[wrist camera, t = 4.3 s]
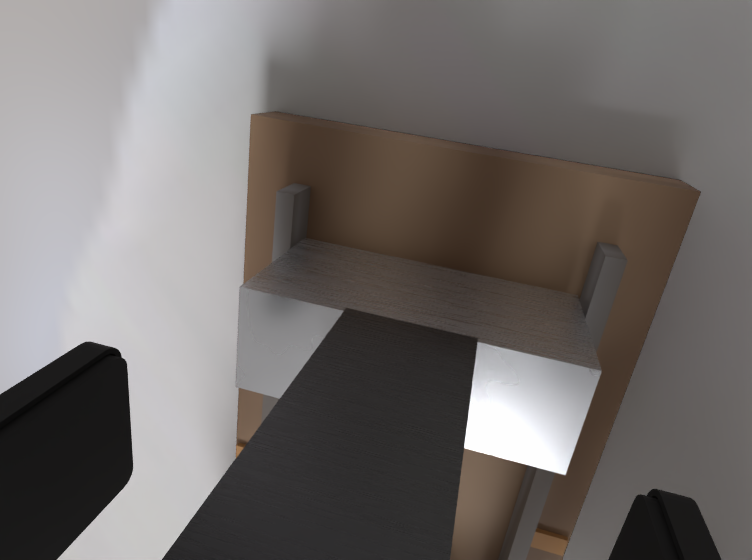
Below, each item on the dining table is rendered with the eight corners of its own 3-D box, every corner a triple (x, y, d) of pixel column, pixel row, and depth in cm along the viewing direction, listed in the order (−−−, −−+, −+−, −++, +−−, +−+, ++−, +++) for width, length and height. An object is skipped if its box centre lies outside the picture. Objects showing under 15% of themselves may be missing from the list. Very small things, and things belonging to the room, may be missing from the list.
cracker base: (680, 179, 17) (798, 247, 10) (499, 684, 27) (495, 895, 20) (275, 111, 19) (143, 127, 12) (245, 598, 29) (163, 759, 22)
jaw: (578, 292, 16) (756, 837, 4) (551, 381, 17) (633, 990, 6) (305, 234, 17) (-96, 530, 6) (297, 320, 19) (-49, 705, 7)
